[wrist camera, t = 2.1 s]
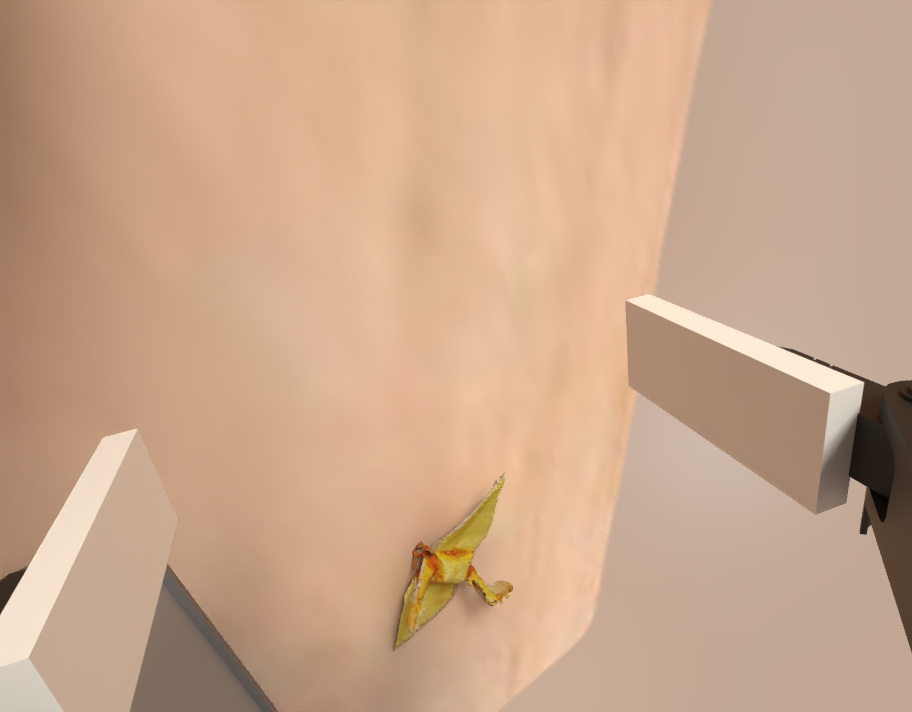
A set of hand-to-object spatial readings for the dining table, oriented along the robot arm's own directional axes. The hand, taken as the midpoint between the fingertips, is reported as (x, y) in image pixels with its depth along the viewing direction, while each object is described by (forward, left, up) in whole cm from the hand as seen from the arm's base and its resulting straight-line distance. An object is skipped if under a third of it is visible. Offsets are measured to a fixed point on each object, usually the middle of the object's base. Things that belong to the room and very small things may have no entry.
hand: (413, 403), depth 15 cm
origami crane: (+18, -17, -20) cm, 32 cm away
